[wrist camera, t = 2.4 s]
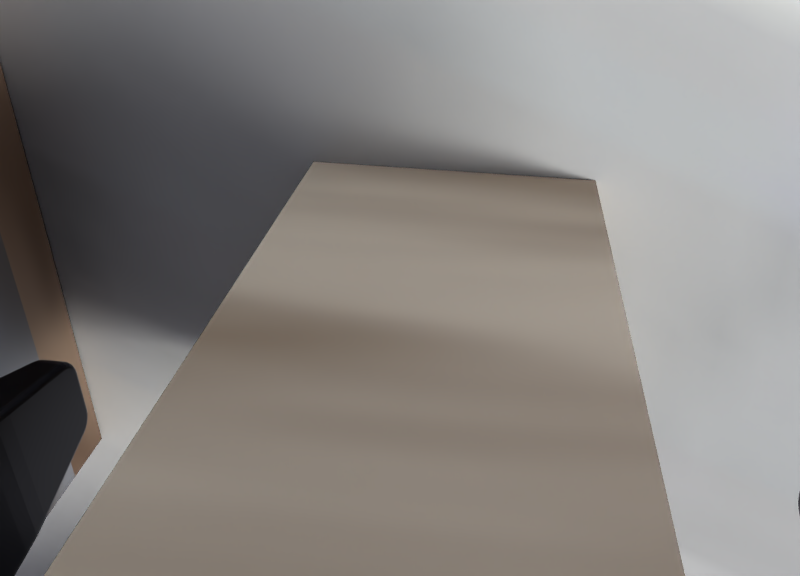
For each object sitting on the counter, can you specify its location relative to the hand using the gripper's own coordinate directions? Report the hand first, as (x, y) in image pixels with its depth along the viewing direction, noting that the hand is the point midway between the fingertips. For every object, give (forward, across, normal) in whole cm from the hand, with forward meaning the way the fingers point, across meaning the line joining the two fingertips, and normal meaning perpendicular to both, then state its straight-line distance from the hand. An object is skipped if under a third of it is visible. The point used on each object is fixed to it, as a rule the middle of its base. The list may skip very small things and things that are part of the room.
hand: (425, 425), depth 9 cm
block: (+3, 0, 0) cm, 3 cm away
